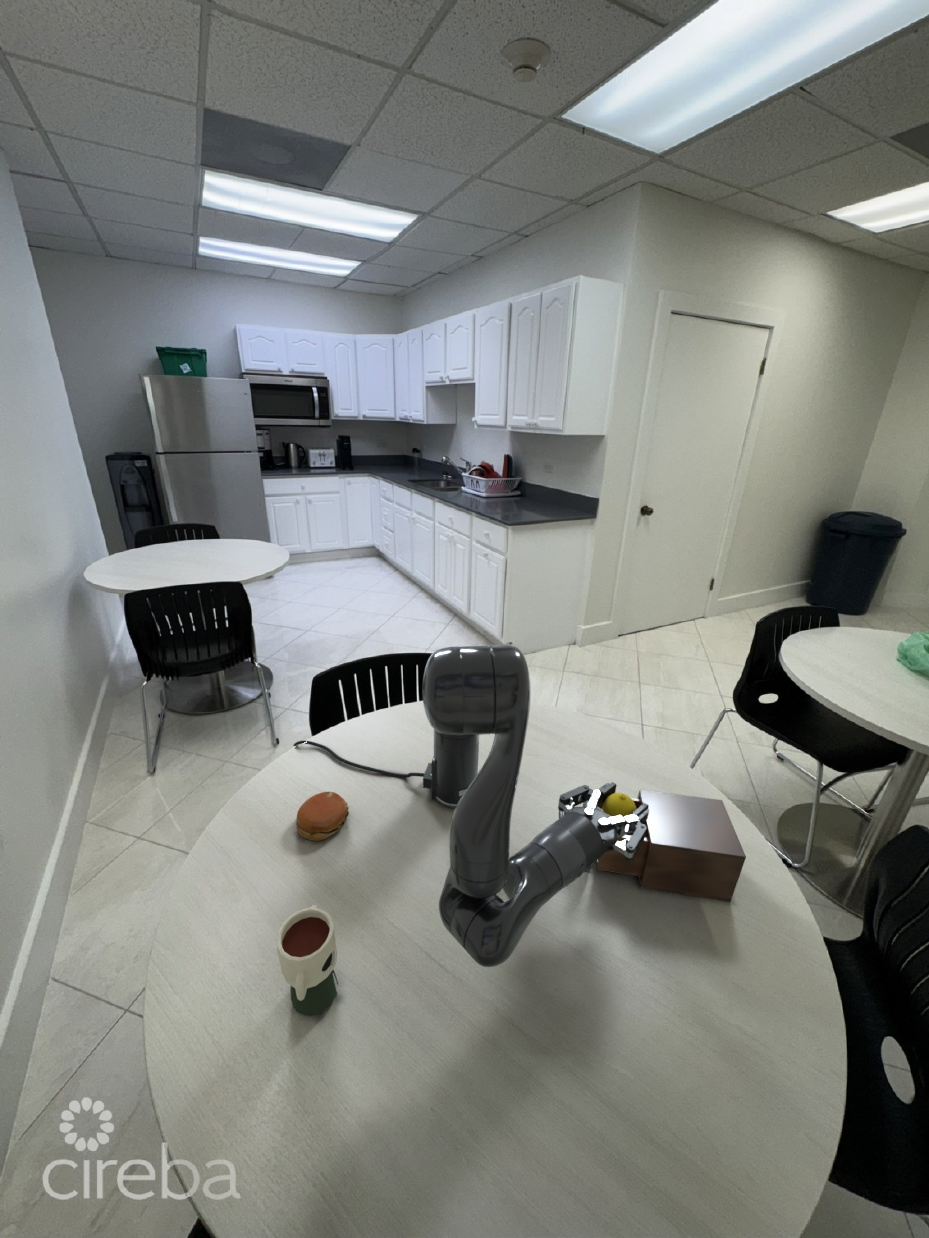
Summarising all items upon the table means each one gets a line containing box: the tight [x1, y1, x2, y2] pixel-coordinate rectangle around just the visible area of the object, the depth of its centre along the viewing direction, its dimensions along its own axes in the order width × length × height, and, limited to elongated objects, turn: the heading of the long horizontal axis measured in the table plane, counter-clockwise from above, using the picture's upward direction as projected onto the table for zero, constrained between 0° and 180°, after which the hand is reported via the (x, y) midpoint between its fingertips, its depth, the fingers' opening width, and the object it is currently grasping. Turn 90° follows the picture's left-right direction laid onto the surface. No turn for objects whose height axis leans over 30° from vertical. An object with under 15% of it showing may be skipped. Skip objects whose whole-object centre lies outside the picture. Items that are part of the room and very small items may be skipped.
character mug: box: [276, 904, 339, 1017], centre depth 66 cm, size 11×7×13 cm, turn 5°
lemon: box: [602, 792, 636, 817], centre depth 80 cm, size 6×6×8 cm
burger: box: [295, 791, 350, 842], centre depth 96 cm, size 10×9×5 cm
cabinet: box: [637, 788, 747, 903], centre depth 87 cm, size 15×13×11 cm
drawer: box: [558, 788, 650, 877], centre depth 89 cm, size 18×11×9 cm, turn 80°
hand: (629, 797), depth 81 cm, fingers closed on lemon, 5 cm apart
